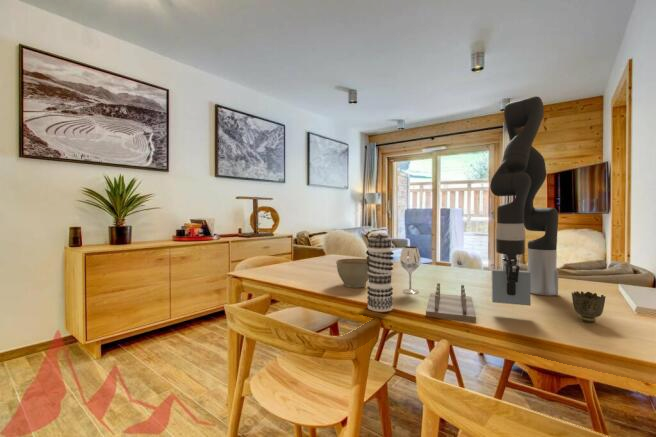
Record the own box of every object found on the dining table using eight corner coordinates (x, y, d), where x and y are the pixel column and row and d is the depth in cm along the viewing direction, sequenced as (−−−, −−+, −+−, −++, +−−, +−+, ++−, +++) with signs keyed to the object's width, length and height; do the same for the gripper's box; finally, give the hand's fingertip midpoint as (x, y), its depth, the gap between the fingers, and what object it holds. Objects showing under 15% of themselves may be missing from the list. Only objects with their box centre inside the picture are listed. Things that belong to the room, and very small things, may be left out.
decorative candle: (377, 314, 95) (377, 235, 94) (361, 305, 103) (360, 233, 103) (399, 309, 99) (399, 234, 99) (382, 301, 107) (382, 232, 107)
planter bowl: (379, 283, 134) (378, 259, 134) (363, 292, 121) (363, 265, 120) (347, 279, 143) (347, 257, 143) (329, 287, 129) (329, 262, 129)
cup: (564, 317, 91) (565, 291, 90) (587, 316, 91) (587, 290, 91) (588, 326, 83) (588, 298, 83) (612, 325, 84) (612, 297, 84)
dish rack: (430, 296, 113) (430, 281, 113) (471, 300, 108) (471, 284, 108) (425, 316, 93) (425, 296, 93) (476, 321, 87) (476, 301, 87)
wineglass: (421, 294, 116) (421, 248, 116) (400, 293, 118) (400, 248, 117) (419, 289, 124) (419, 246, 124) (399, 288, 126) (399, 245, 125)
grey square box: (491, 300, 96) (491, 269, 96) (528, 303, 92) (528, 271, 92) (492, 302, 94) (492, 270, 93) (530, 305, 90) (530, 272, 90)
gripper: (530, 240, 84) (530, 301, 85) (519, 236, 97) (519, 288, 98) (499, 240, 87) (499, 298, 88) (493, 235, 100) (493, 287, 101)
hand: (510, 293), depth 93 cm, fingers closed on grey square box, 2 cm apart
